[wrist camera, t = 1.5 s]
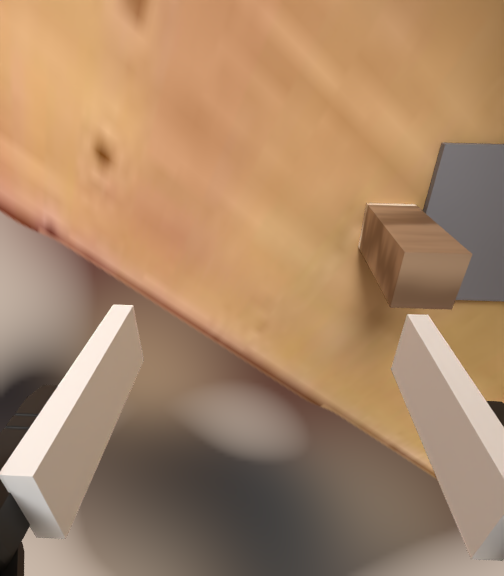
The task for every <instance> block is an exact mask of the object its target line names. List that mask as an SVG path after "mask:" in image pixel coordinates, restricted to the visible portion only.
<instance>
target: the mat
mask: <svg viewBox="0 0 504 576" xmlns="http://www.w3.org/2000/svg"><path fill="white" fill-rule="evenodd" d="M423 212H424V213H426V214H427V215H428V216H429V217H430V218H431V219H432V220H434V221H435V222H436V223H437V224H438V225H439V226H441V227H442V228H443V229H444V230H445V231H446V232H447V233H449V234H450V235H451V236H452V237H453V238H454V239H456V240H457V241H458V242H459V243H460V244H461V245H462V246H464V247H465V248H466V249H467V250H468V251H469V252H471V253H472V257H471V260H470V262H469V265H468V268H467V270H466V273H465V276H464V278H463V281H462V284H461V286H460V289H459V292H458V294H457V297H456V300H476V301H504V144H474V143H442V144H441V147H440V151H439V155H438V158H437V162H436V165H435V169H434V173H433V176H432V180H431V184H430V187H429V191H428V195H427V198H426V202H425V206H424V209H423Z"/></svg>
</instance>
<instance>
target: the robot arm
mask: <svg viewBox="0 0 504 576" xmlns="http://www.w3.org/2000/svg"><path fill="white" fill-rule="evenodd" d="M143 361H144V358H143V353H142V348H141V343H140V338H139V333H138V327H137V323H136V317H135V312H134V307H133V305H113V306H112V307H111V309H110V310H109V312H108V313H107V314H106V316H105V317H104V319H103V320H102V322H101V323H100V325H99V326H98V328H97V329H96V331H95V332H94V334H93V335H92V337H91V338H90V340H89V341H88V343H87V344H86V346H85V347H84V348H83V350H82V352H81V353H80V354H79V356H78V357H77V359H76V360H75V362H74V363H73V365H72V366H71V368H70V369H69V371H68V372H67V374H66V375H65V376H64V378H63V379H62V381H61V382H60V384H59V385H58V386H54V385H43V386H42V387H40V388H39V389H38V390H36V391H35V392H34V393H32V394H31V395H30V396H29V397H27V398H26V400H25V401H24V402H23V404H22V405H21V406H20V408H19V409H18V411H17V412H16V414H15V416H13V417H12V418H11V420H10V421H9V422H8V424H7V425H6V428H5V429H3V430H2V432H1V433H0V576H24V549H23V544H22V542H21V541H22V539H23V538H24V536H25V534H26V532H27V530H28V528H29V526H30V528H31V529H32V531H33V532H34V534H35V536H36V537H38V538H59V539H60V538H61V539H66V537H67V535H68V533H69V530H70V528H71V526H72V523H73V521H74V519H75V516H76V514H77V512H78V510H79V507H80V505H81V503H82V501H83V498H84V496H85V494H86V491H87V489H88V487H89V484H90V482H91V480H92V478H93V475H94V473H95V470H96V469H97V466H98V464H99V462H100V459H101V457H102V455H103V452H104V450H105V448H106V446H107V443H108V441H109V439H110V436H111V434H112V432H113V429H114V427H115V425H116V422H117V420H118V418H119V416H120V414H121V411H122V409H123V407H124V404H125V402H126V400H127V397H128V395H129V393H130V390H131V388H132V386H133V384H134V382H135V379H136V377H137V375H138V372H139V370H140V368H141V365H142V363H143ZM391 370H392V373H393V375H394V377H395V380H396V382H397V385H398V387H399V389H400V392H401V394H402V396H403V399H404V401H405V404H406V406H407V408H408V411H409V413H410V415H411V418H412V420H413V423H414V425H415V427H416V430H417V432H418V434H419V437H420V439H421V441H422V444H423V446H424V449H425V451H426V453H427V456H428V458H429V460H430V463H431V465H432V468H433V470H434V472H435V475H436V477H437V479H438V482H439V484H440V486H441V489H442V491H443V494H444V496H445V498H446V501H447V503H448V506H449V508H450V510H451V513H452V515H453V517H454V520H455V522H456V525H457V527H458V529H459V531H460V534H461V536H462V539H463V541H464V544H465V546H466V548H467V551H468V553H469V555H470V557H471V559H478V560H500V561H502V560H503V559H504V403H502V402H497V401H486V400H485V399H484V397H483V396H482V394H481V393H480V391H479V390H478V388H477V387H476V385H475V384H474V382H473V381H472V379H471V378H470V376H469V375H468V373H467V372H466V370H465V369H464V367H463V366H462V364H461V363H460V361H459V360H458V359H457V357H456V356H455V354H454V353H453V351H452V350H451V348H450V347H449V345H448V344H447V342H446V341H445V339H444V338H443V336H442V335H441V333H440V332H439V330H438V329H437V327H436V326H435V324H434V323H433V321H432V320H431V318H430V317H429V315H419V314H407V316H406V320H405V323H404V326H403V330H402V333H401V337H400V340H399V343H398V347H397V350H396V354H395V357H394V361H393V364H392V367H391Z"/></svg>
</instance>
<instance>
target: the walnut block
mask: <svg viewBox="0 0 504 576" xmlns="http://www.w3.org/2000/svg"><path fill="white" fill-rule="evenodd" d="M358 247H359V249H360V251H361V253H362V255H363V257H364V259H365V261H366V263H367V264H368V266H369V268H370V270H371V272H372V274H373V276H374V278H375V279H376V281H377V283H378V285H379V287H380V289H381V291H382V293H383V294H384V296H385V298H386V300H387V302H388V304H389V306H390V307H394V308H423V309H452V308H453V305H454V302H455V300H456V297H457V294H458V292H459V289H460V286H461V284H462V281H463V278H464V276H465V273H466V270H467V268H468V265H469V262H470V260H471V257H472V253H471V252H469V251H468V250H467V249H466V248H465V247H464V246H462V245H461V244H460V243H459V242H458V241H457V240H456V239H454V238H453V237H452V236H451V235H450V234H449V233H447V232H446V231H445V230H444V229H443V228H442V227H441V226H439V225H438V224H437V223H436V222H435V221H434V220H432V219H431V218H430V217H429V216H428V215H427V214H426V213H424V212H423V211H422V210H421V209H420V208H419V207H417V206H416V205H415V204H385V203H366V208H365V213H364V219H363V224H362V229H361V235H360V240H359V246H358Z"/></svg>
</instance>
